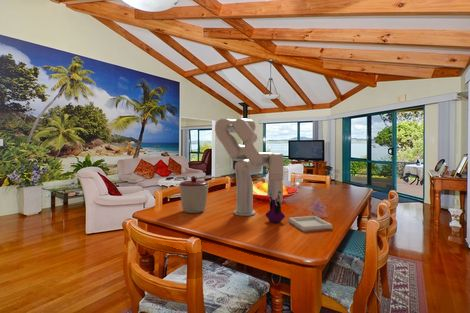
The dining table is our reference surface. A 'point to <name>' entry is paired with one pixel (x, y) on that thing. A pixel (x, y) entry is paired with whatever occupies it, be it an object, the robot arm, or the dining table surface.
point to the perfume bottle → (274, 214)
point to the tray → (310, 223)
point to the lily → (318, 208)
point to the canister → (193, 195)
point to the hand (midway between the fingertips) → (275, 211)
